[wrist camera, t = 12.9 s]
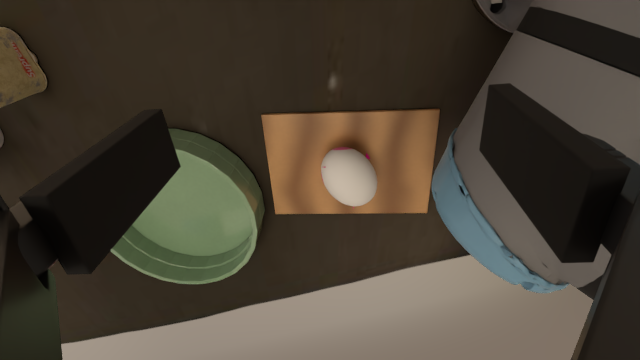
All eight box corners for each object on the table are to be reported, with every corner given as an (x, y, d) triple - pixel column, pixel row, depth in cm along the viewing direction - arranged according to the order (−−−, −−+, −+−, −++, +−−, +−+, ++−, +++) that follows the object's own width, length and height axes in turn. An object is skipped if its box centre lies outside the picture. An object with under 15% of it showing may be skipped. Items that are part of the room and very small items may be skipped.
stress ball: (321, 138, 45) (290, 172, 41) (367, 125, 39) (336, 163, 35) (352, 183, 48) (326, 218, 44) (400, 177, 42) (374, 217, 38)
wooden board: (439, 108, 39) (440, 109, 39) (426, 210, 46) (427, 213, 46) (261, 113, 41) (261, 115, 40) (276, 212, 48) (275, 214, 48)
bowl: (252, 125, 42) (241, 143, 37) (273, 259, 52) (267, 284, 48) (82, 130, 43) (53, 147, 39) (136, 258, 54) (119, 283, 50)
